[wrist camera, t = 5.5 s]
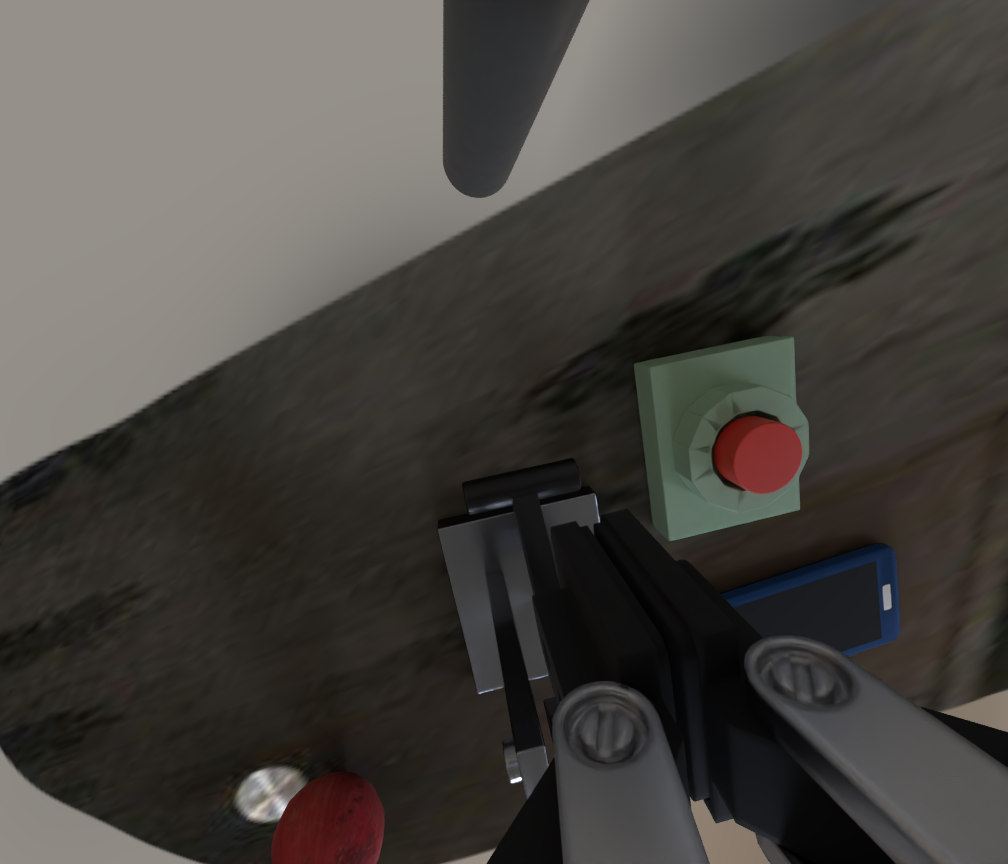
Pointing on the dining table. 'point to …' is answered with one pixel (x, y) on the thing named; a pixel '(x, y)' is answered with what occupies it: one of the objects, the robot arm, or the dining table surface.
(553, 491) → the press lever
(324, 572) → the dining table surface
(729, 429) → the red button
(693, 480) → the button housing
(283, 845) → the onion
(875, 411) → the dining table surface
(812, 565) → the cell phone
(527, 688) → the lever bracket
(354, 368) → the dining table surface
